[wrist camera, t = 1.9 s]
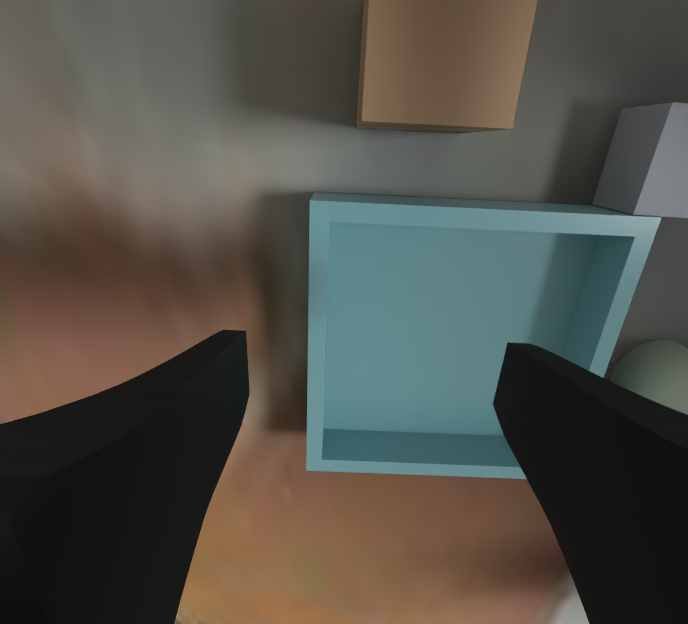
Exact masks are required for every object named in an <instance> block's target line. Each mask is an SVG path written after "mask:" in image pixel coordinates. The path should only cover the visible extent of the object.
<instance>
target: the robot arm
mask: <svg viewBox="0 0 688 624" xmlns="http://www.w3.org/2000/svg"><path fill="white" fill-rule="evenodd" d="M248 398H249V377H248V359H247V341H246V331H236V330H222V331H220V332H218V333H216V334H214V335H212V336H210V337H209V338H207V339H205V340H203V341H202V342H200V343H198V344H196V345H195V346H193V347H191V348H189V349H188V350H186V351H184V352H183V353H181V354H179V355H177V356H176V357H174V358H172V359H170V360H168V361H166V362H164V363H162V364H160V365H158V366H157V367H155V368H153V369H151V370H149V371H147V372H145V373H143V374H141V375H139V376H137V377H135V378H133V379H131V380H128V381H126V382H124V383H122V384H119V385H117V386H114V387H112V388H110V389H107V390H105V391H102V392H100V393H97V394H95V395H92V396H89V397H87V398H84V399H81V400H78V401H75V402H72V403H69V404H66V405H63V406H60V407H57V408H54V409H51V410H48V411H45V412H42V413H39V414H36V415H32V416H29V417H25V418H22V419H18V420H14V421H11V422H7V423H3V424H0V624H174V622H175V618H176V615H177V611H178V607H179V603H180V600H181V596H182V592H183V589H184V585H185V582H186V578H187V575H188V571H189V568H190V564H191V561H192V557H193V554H194V550H195V547H196V544H197V540H198V537H199V534H200V530H201V527H202V524H203V520H204V517H205V514H206V511H207V508H208V506H209V503H210V500H211V497H212V495H213V493H214V490H215V488H216V485H217V483H218V481H219V478H220V476H221V473H222V471H223V469H224V466H225V464H226V461H227V459H228V457H229V454H230V452H231V449H232V447H233V445H234V442H235V440H236V437H237V435H238V432H239V430H240V427H241V425H242V421H243V417H244V414H245V410H246V406H247V402H248ZM493 406H494V409H495V412H496V415H497V418H498V421H499V424H500V426H501V429H502V432H503V434H504V437H505V439H506V441H507V442H508V444H509V446H510V448H511V450H512V452H513V454H514V456H515V458H516V460H517V462H518V463H519V465H520V467H521V469H522V471H523V473H524V474H525V476H526V478H527V480H528V482H529V484H530V486H531V487H532V489H533V491H534V493H535V495H536V497H537V499H538V500H539V502H540V504H541V506H542V508H543V510H544V512H545V514H546V516H547V518H548V520H549V522H550V524H551V526H552V529H553V531H554V534H555V536H556V538H557V541H558V543H559V546H560V548H561V550H562V553H563V555H564V558H565V560H566V563H567V565H568V567H569V570H570V573H571V575H572V578H573V581H574V583H575V586H576V589H577V591H578V594H579V596H580V599H581V602H582V604H583V607H584V610H585V612H586V615H587V618H588V621H589V624H688V415H687V414H685V413H682V412H679V411H677V410H674V409H672V408H669V407H667V406H664V405H662V404H659V403H657V402H655V401H652V400H650V399H648V398H645V397H643V396H641V395H639V394H637V393H634V392H632V391H630V390H628V389H626V388H623V387H621V386H619V385H617V384H615V383H613V382H611V381H609V380H607V379H605V378H603V377H600V376H598V375H596V374H594V373H592V372H590V371H588V370H586V369H584V368H582V367H580V366H578V365H576V364H574V363H572V362H570V361H568V360H566V359H564V358H562V357H560V356H558V355H556V354H554V353H552V352H550V351H548V350H546V349H543V348H541V347H538V346H536V345H533V344H530V343H509V342H507V347H506V351H505V355H504V359H503V363H502V367H501V372H500V376H499V380H498V384H497V388H496V392H495V396H494V401H493Z"/></svg>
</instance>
